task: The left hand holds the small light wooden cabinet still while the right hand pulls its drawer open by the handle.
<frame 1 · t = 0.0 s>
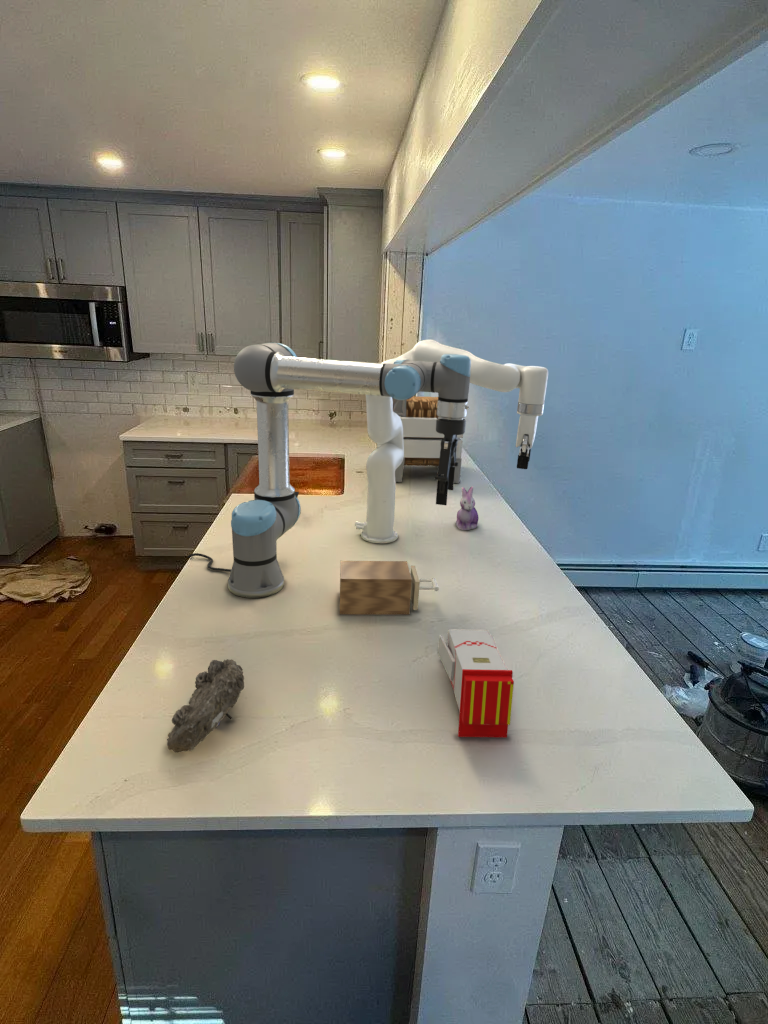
left hand: (444, 496, 152), 28 cm above the counter, tool pointing down, fingers open, 13 cm apart
right hand: (523, 464, 174), 31 cm above the counter, tool pointing down, fingers open, 9 cm apart
cabinet: (373, 604, 152), on the counter
figurine: (466, 526, 210), on the counter
drawer: (395, 587, 151), point 5 cm above the counter, slide at 1.0 cm
grey storage bin: (419, 473, 275), on the counter
figurine character: (288, 515, 213), on the counter
toy: (469, 691, 119), on the counter
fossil: (212, 717, 108), on the counter
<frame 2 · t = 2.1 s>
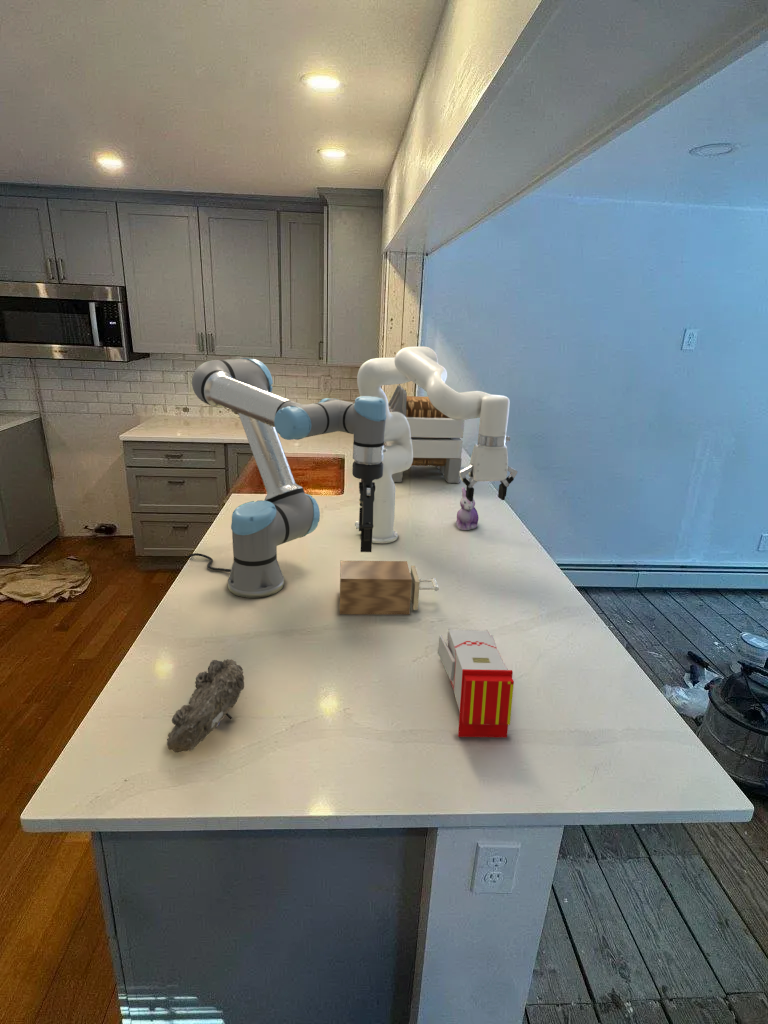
left hand: (364, 540, 146), 18 cm above the counter, tool pointing down, fingers open, 13 cm apart
right hand: (485, 499, 162), 24 cm above the counter, tool pointing down, fingers open, 9 cm apart
nothing on the counter moved.
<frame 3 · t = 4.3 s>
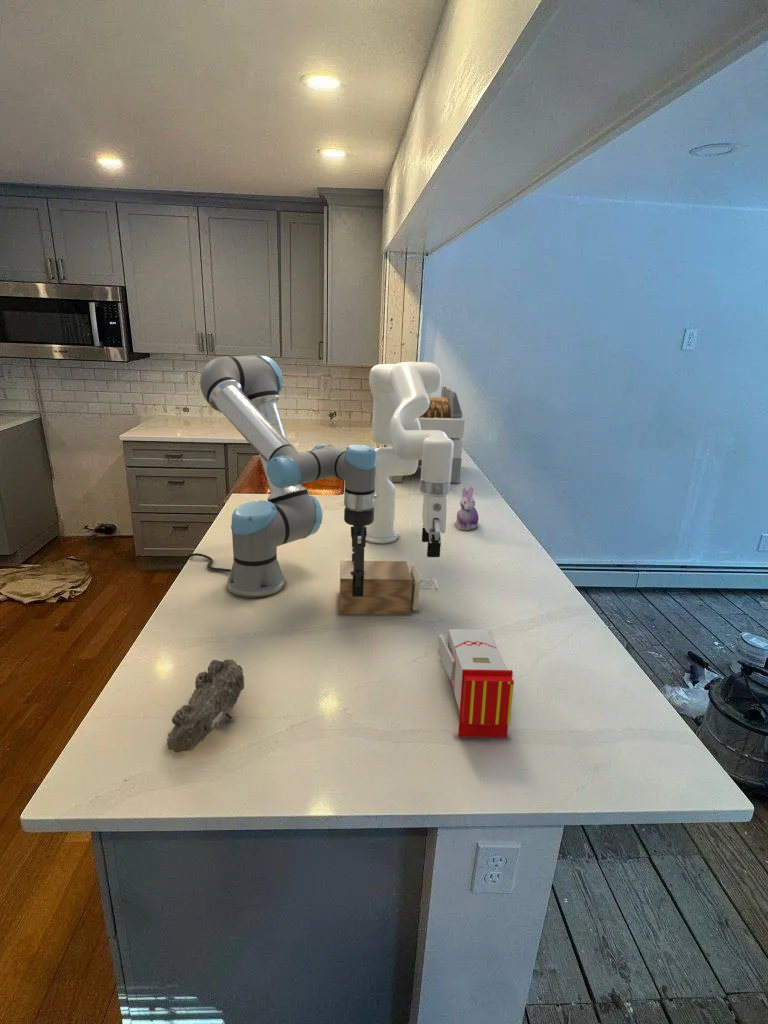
left hand: (357, 585, 150), 6 cm above the counter, tool pointing down, fingers closed on cabinet, 11 cm apart
right hand: (430, 549, 148), 16 cm above the counter, tool pointing down, fingers open, 9 cm apart
cabinet: (373, 604, 152), on the counter, touching left hand
everything else where it was.
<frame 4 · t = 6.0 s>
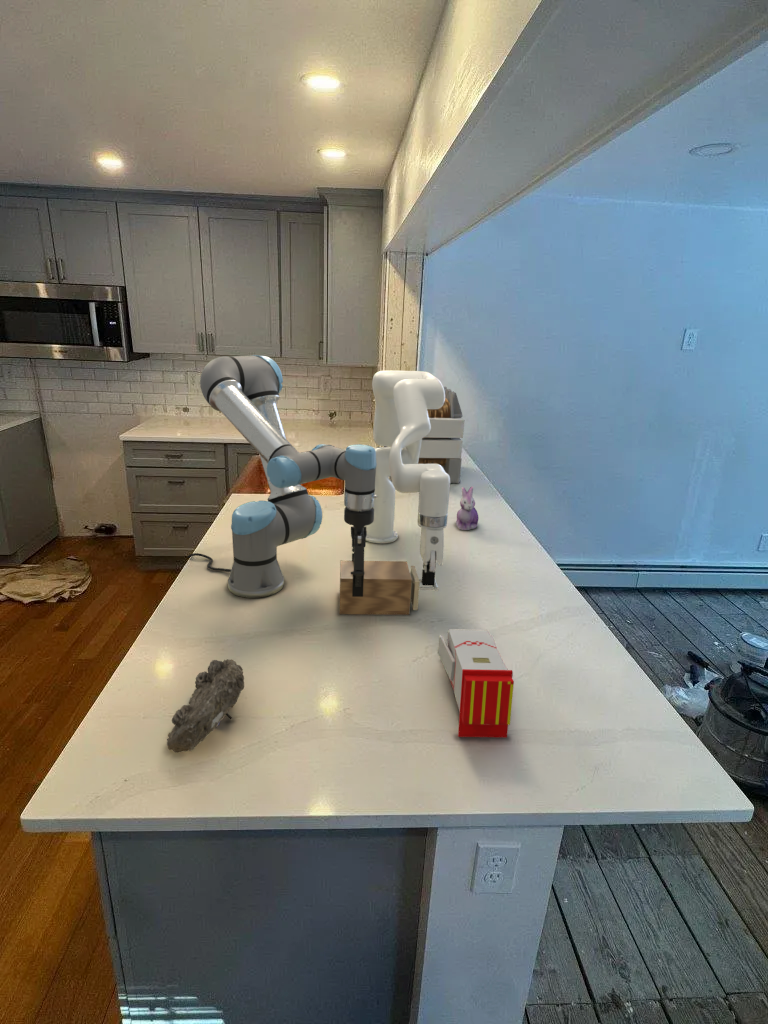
left hand: (357, 585, 150), 6 cm above the counter, tool pointing down, fingers closed on cabinet, 11 cm apart
right hand: (427, 584, 151), 6 cm above the counter, tool pointing down, fingers closed
cabinet: (373, 604, 152), on the counter, touching left hand
drawer: (395, 587, 151), point 5 cm above the counter, slide at 1.0 cm, touching right hand
everything else where it was.
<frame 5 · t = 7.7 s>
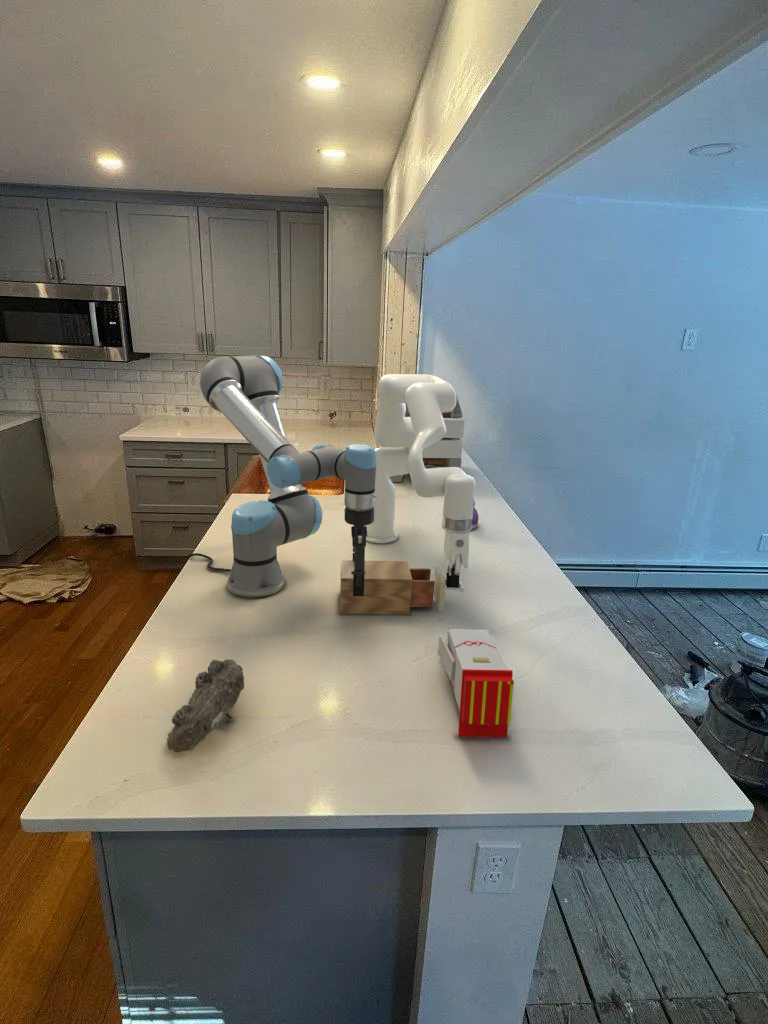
left hand: (357, 585, 150), 6 cm above the counter, tool pointing down, fingers closed on cabinet, 11 cm apart
right hand: (452, 587, 151), 6 cm above the counter, tool pointing down, fingers closed
cabinet: (373, 603, 152), on the counter, touching left hand
drawer: (420, 587, 151), point 5 cm above the counter, slide at 7.6 cm, touching right hand
everything else where it was.
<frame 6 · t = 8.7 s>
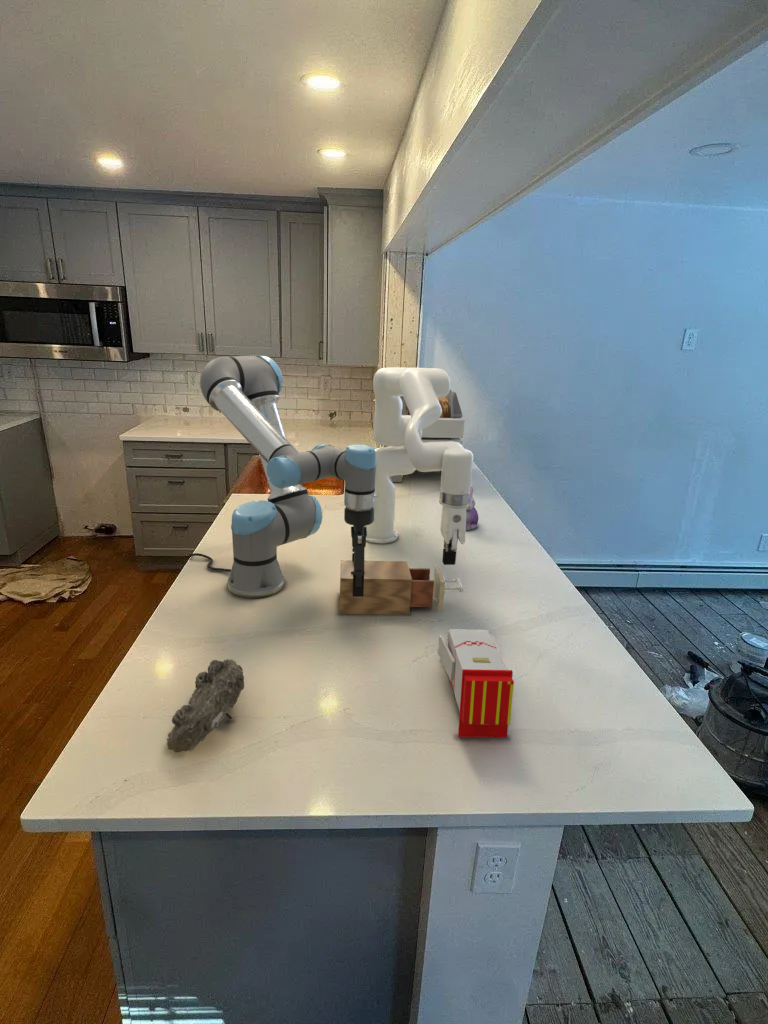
left hand: (357, 585, 150), 6 cm above the counter, tool pointing down, fingers closed on cabinet, 11 cm apart
right hand: (448, 563, 149), 12 cm above the counter, tool pointing down, fingers closed
cabinet: (373, 603, 152), on the counter, touching left hand
drawer: (420, 587, 151), point 5 cm above the counter, slide at 7.6 cm
everything else where it was.
when the left hand's fingers open (6 cm above the counter, at t = 9.3 s): cabinet stays where it is, on the counter.
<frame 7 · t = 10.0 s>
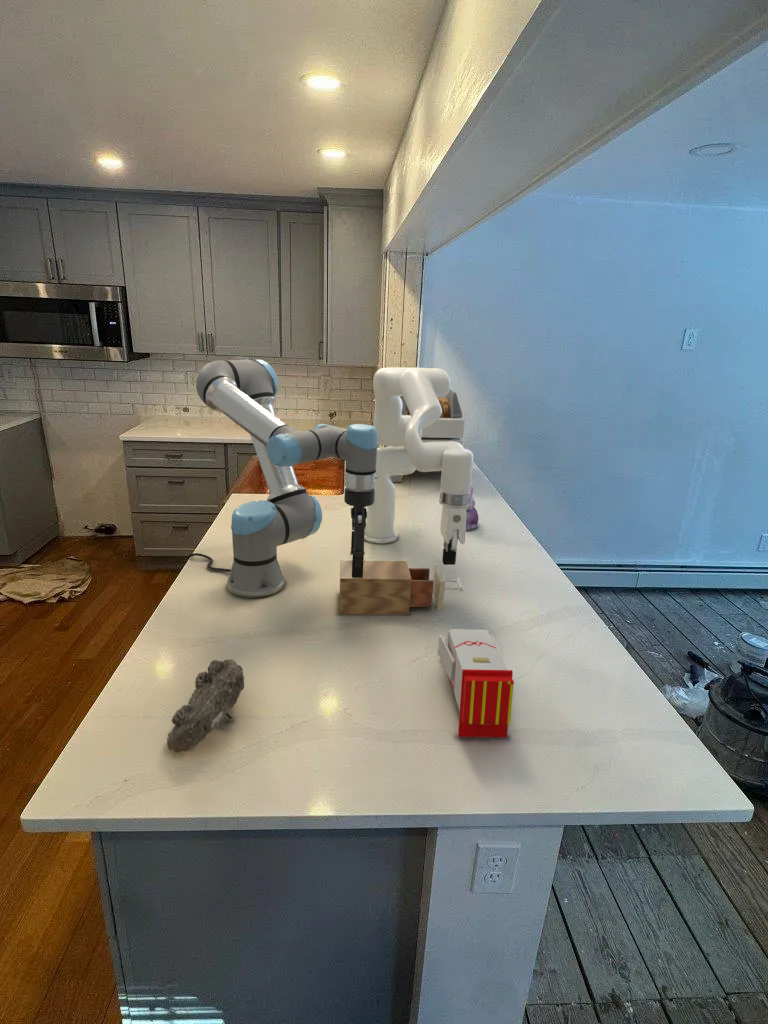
left hand: (356, 565, 148), 11 cm above the counter, tool pointing down, fingers open, 13 cm apart
right hand: (448, 563, 149), 12 cm above the counter, tool pointing down, fingers closed
cabinet: (373, 604, 152), on the counter
everything else where it was.
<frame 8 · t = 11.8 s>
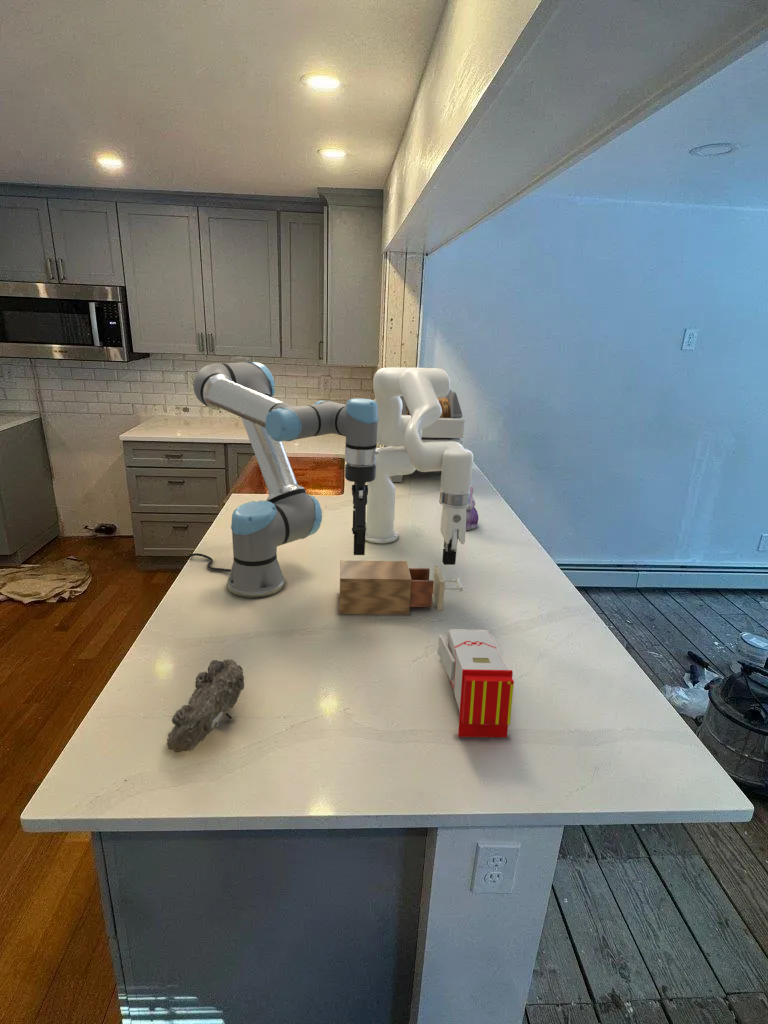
left hand: (358, 543, 146), 18 cm above the counter, tool pointing down, fingers open, 13 cm apart
right hand: (448, 563, 149), 12 cm above the counter, tool pointing down, fingers closed
nothing on the counter moved.
at the end: drawer slide at 7.6 cm; cabinet tilted 0°; cabinet never tilted more than 1° during the clip; cabinet moved 0.1 cm from its start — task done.
